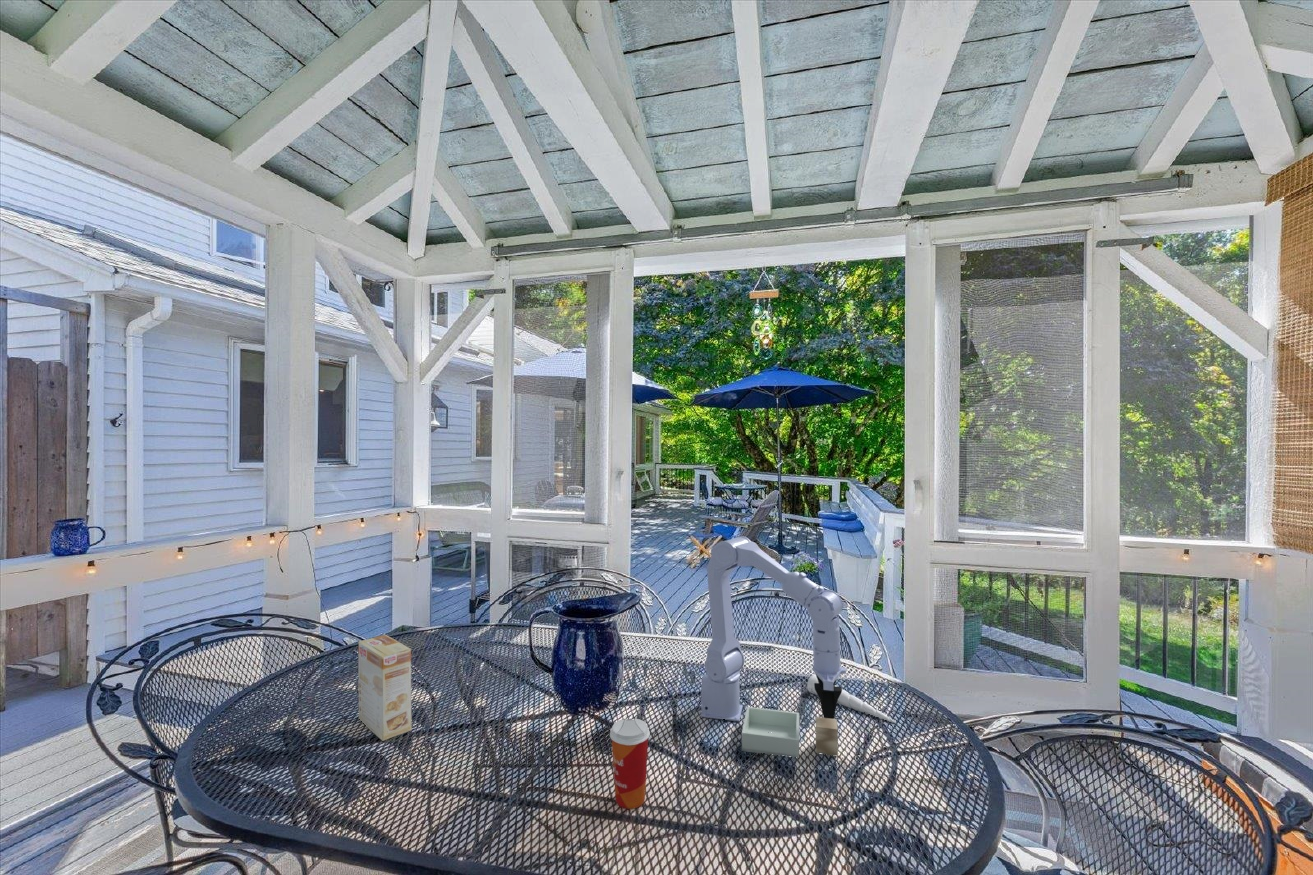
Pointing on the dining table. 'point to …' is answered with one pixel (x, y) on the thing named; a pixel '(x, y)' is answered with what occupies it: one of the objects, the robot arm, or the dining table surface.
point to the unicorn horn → (850, 701)
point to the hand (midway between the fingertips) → (827, 709)
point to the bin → (770, 721)
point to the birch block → (826, 736)
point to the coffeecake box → (384, 686)
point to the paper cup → (630, 761)
